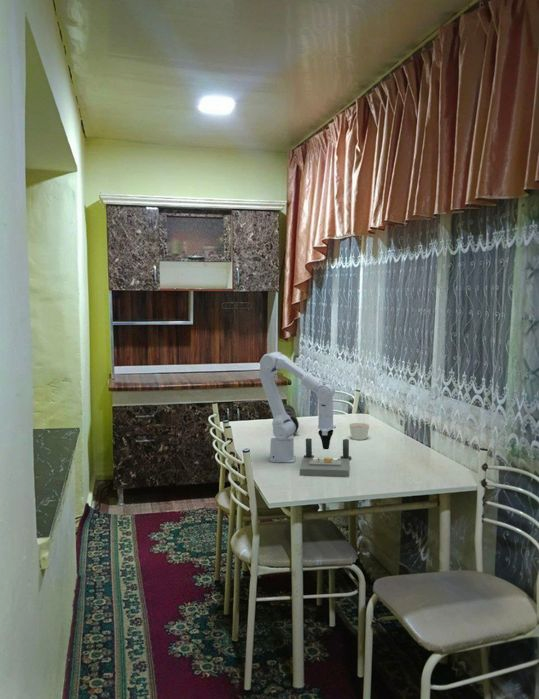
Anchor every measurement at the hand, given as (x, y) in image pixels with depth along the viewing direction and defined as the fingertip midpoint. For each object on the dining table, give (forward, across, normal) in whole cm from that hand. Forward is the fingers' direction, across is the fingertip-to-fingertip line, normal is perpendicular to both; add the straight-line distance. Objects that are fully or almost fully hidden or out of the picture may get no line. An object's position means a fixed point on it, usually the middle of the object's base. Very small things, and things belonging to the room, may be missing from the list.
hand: (326, 448), depth 227 cm
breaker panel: (+6, -7, 0) cm, 9 cm away
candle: (+7, +41, -13) cm, 44 cm away
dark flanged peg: (+6, +8, -8) cm, 13 cm away
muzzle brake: (+7, +55, +22) cm, 60 cm away
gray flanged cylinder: (+6, +8, +8) cm, 13 cm away
